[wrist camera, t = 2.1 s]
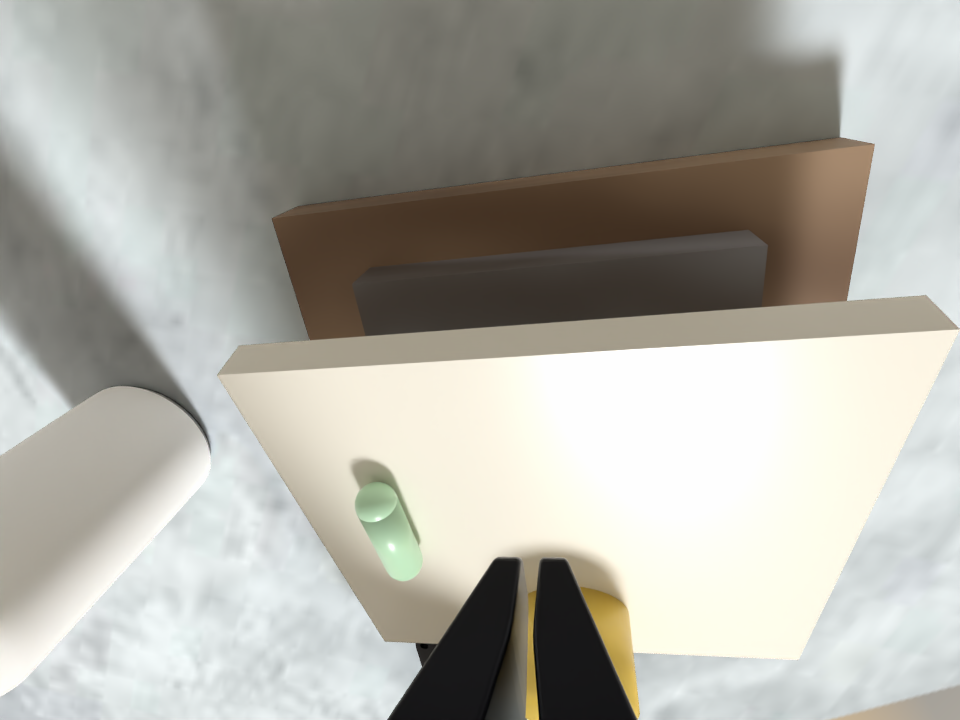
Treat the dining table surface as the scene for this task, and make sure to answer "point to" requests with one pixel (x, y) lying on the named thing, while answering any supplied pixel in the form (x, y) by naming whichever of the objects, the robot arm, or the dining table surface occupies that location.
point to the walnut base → (585, 243)
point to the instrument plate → (603, 463)
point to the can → (86, 511)
